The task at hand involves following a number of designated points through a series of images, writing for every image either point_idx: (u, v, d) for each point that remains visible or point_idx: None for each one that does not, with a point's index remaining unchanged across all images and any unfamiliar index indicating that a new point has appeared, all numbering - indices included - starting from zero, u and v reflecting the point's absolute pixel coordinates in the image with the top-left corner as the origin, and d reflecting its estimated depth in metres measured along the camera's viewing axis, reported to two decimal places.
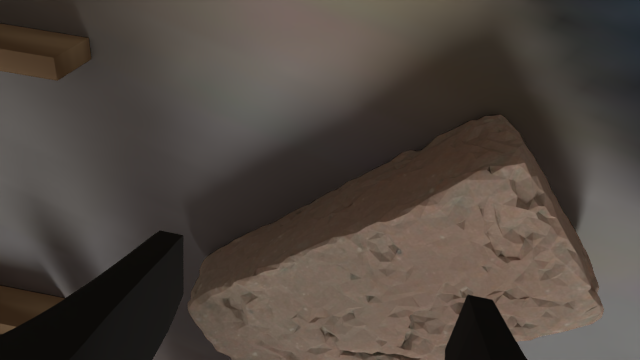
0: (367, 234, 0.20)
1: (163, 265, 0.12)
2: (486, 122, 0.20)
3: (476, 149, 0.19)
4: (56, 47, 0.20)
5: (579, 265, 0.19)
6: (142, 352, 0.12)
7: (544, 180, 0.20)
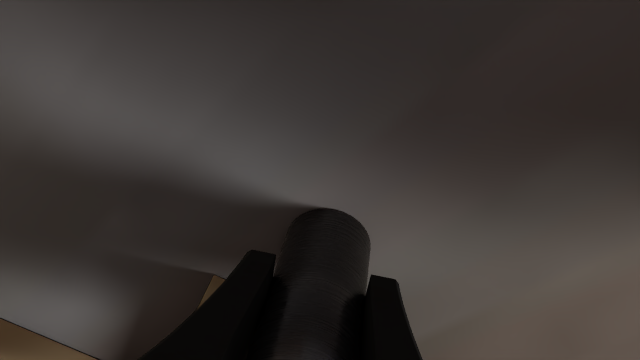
0: None
1: (264, 287, 0.12)
2: None
3: None
4: None
5: None
6: None
7: None
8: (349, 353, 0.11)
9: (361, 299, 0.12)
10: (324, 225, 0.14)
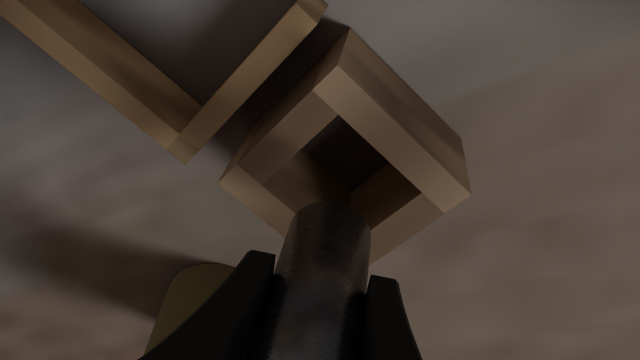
0: None
1: (264, 287, 0.12)
2: None
3: None
4: None
5: None
6: None
7: None
8: (351, 337, 0.11)
9: (363, 287, 0.13)
10: (327, 216, 0.14)
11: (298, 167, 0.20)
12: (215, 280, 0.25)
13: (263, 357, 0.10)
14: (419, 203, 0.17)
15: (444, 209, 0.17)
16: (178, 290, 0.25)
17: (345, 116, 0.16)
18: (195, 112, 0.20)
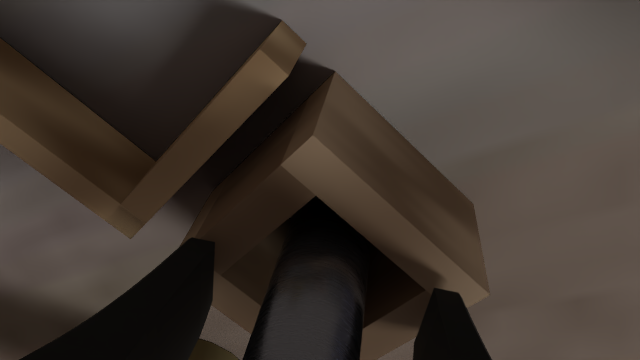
0: None
1: (198, 272, 0.12)
2: None
3: None
4: None
5: None
6: None
7: None
8: (360, 270, 0.13)
9: None
10: None
11: (271, 239, 0.16)
12: None
13: (285, 280, 0.12)
14: (422, 302, 0.13)
15: None
16: None
17: (324, 198, 0.12)
18: (145, 170, 0.17)
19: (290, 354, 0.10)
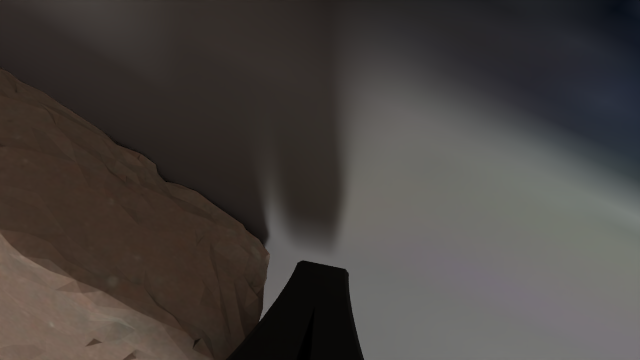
0: None
1: None
2: (252, 252, 0.13)
3: (211, 284, 0.12)
4: None
5: None
6: None
7: None
8: None
9: None
10: None
11: None
12: None
13: None
14: None
15: None
16: None
17: None
18: None
19: None
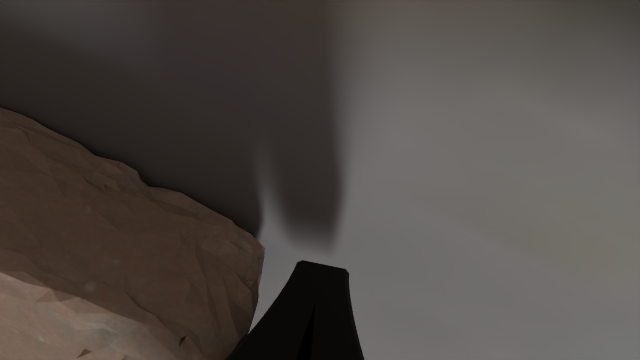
0: None
1: None
2: (243, 246, 0.13)
3: (198, 281, 0.12)
4: None
5: None
6: None
7: None
8: None
9: None
10: None
11: None
12: None
13: None
14: None
15: None
16: None
17: None
18: None
19: None
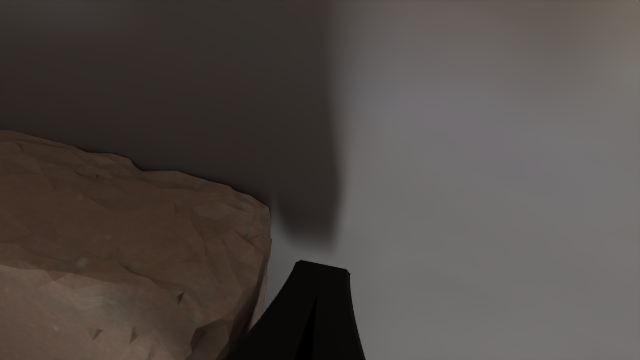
0: None
1: (317, 298, 0.12)
2: (242, 207, 0.13)
3: (195, 243, 0.11)
4: None
5: None
6: None
7: (254, 324, 0.13)
8: None
9: None
10: None
11: None
12: None
13: None
14: None
15: None
16: None
17: None
18: None
19: None
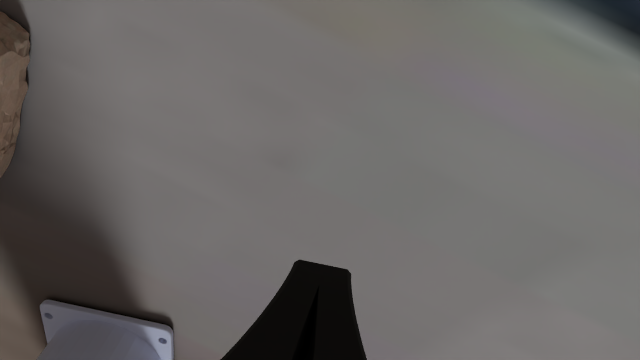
0: None
1: (315, 297, 0.12)
2: (7, 26, 0.21)
3: None
4: None
5: None
6: None
7: (4, 101, 0.22)
8: None
9: None
10: None
11: None
12: None
13: None
14: None
15: None
16: None
17: None
18: None
19: None
